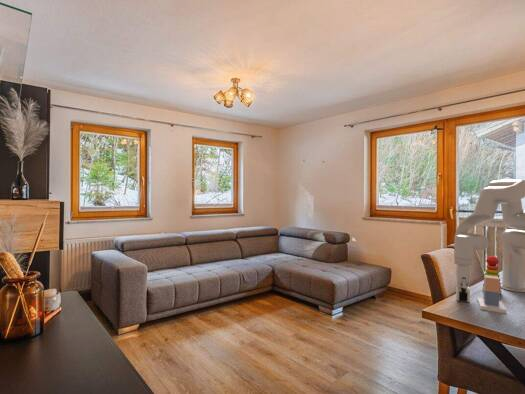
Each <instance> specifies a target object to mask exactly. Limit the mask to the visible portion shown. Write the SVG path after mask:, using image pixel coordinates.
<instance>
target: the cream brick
mask: <svg viewBox="0 0 525 394" xmlns="http://www.w3.org/2000/svg"><path fill="white" fill-rule="evenodd" d="M461 288H462V287H461ZM455 290H456V292H455V293H456V294H455V295H456V297H455V299H456V301H460V300H459V292H460V285H458V286H457V285H456V288H455ZM470 290H471V289H470V285H469V286H468V287H467V301H464V302H467V303H470V301H471V300H470V299H471V298H470V297H471V295H470V294H471V293H470V292H471V291H470ZM460 302H461V301H460Z"/></svg>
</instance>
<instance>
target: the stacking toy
mask: <svg viewBox="0 0 525 394" xmlns="http://www.w3.org/2000/svg"><path fill="white" fill-rule="evenodd" d="M499 262H500V260H499V259H498V257H497V256H495V255H489V256H487V257H486V263H487V265H486V268H485V273H484V275H489V276H498V278H499V279H500V280H501V278H500V274H499V266H498V264H499ZM501 283H502V282H500V285H501ZM501 289H502V288H501V287H500V289H499V295H501V294H502V290H501ZM482 291H483V292H484V283H483V284H482Z"/></svg>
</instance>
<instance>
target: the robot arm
mask: <svg viewBox="0 0 525 394" xmlns="http://www.w3.org/2000/svg"><path fill="white" fill-rule="evenodd" d="M524 198H525V179H497V180H492V181H490V182H488V185H487V187H484V188H483V189H482V190H481V192H480V193H479V197H478V199H477V202H476V205H475V207H474V209H473V210H474V211H473V212H472V213H471V214H470V215H468V216H466V217H465V218H464V219H463V220H462V221H461V222H460V223H459V224H458V225H457V228H456V232H455V234H454V238H453V241H454V245H453V246H454V249H453V252H454V253H453V255H454V257H453V258H454V259H453V264H454V265H456V266H455V284H456V285H457V286H458V285H460V292H459V300H460V302H465V301H467V287H468V286H469V287H470V275H471V274H470V273H471V270H470V269H471V268H470V267H472V266H473V265H474V251H485V250H486V249H488V247H489V246H490V241H489V238H488V236H486V235H482V234H476V233H471V232H469V231H470V230H471V229H472V228H473V227H474V226H477V225H481V224H483V223H486V222H490V221H492V220H494V218H495V216H496V212H497V209H498V207H499V205H500V206H501V216H502V223H503V225H504V226H505V227H507V228H509V229H505V230H504V231H503V232H502V233H501V235H500V239H501V240H500V241H501V244H502V280H501V281H502V282H500V283H501V285H500V287H501V289H502V290H507V291H511V292H517V293H525V252H524V251H523V250H525V209H523V203H522V199H524ZM510 228H511V229H510ZM461 287H462V288H461ZM459 300H458V301H459Z"/></svg>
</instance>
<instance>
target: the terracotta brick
mask: <svg viewBox="0 0 525 394" xmlns="http://www.w3.org/2000/svg"><path fill="white" fill-rule="evenodd" d="M499 278H500V277H499ZM499 278H498V276H489V275H485V274H484V275H483V284H484V289H485V291H490V292H497V293H499V289H500V283H501V282H500V281H501V278H500V279H499ZM500 290H501V289H500Z"/></svg>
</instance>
